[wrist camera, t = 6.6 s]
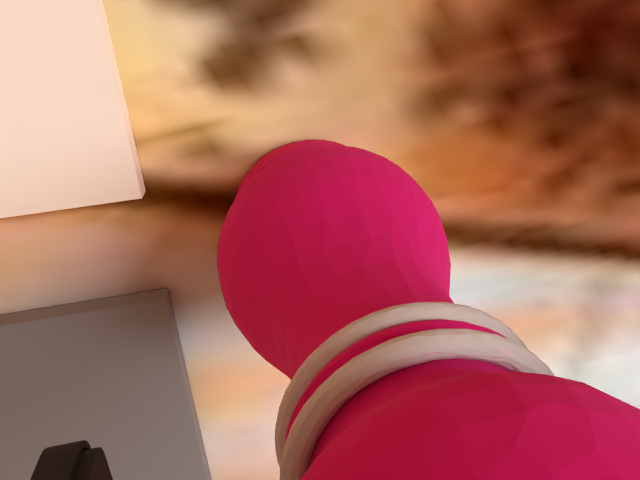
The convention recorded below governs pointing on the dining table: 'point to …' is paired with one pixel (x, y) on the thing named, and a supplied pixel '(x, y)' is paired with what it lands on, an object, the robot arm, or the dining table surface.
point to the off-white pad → (62, 110)
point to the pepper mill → (394, 338)
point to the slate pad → (99, 388)
